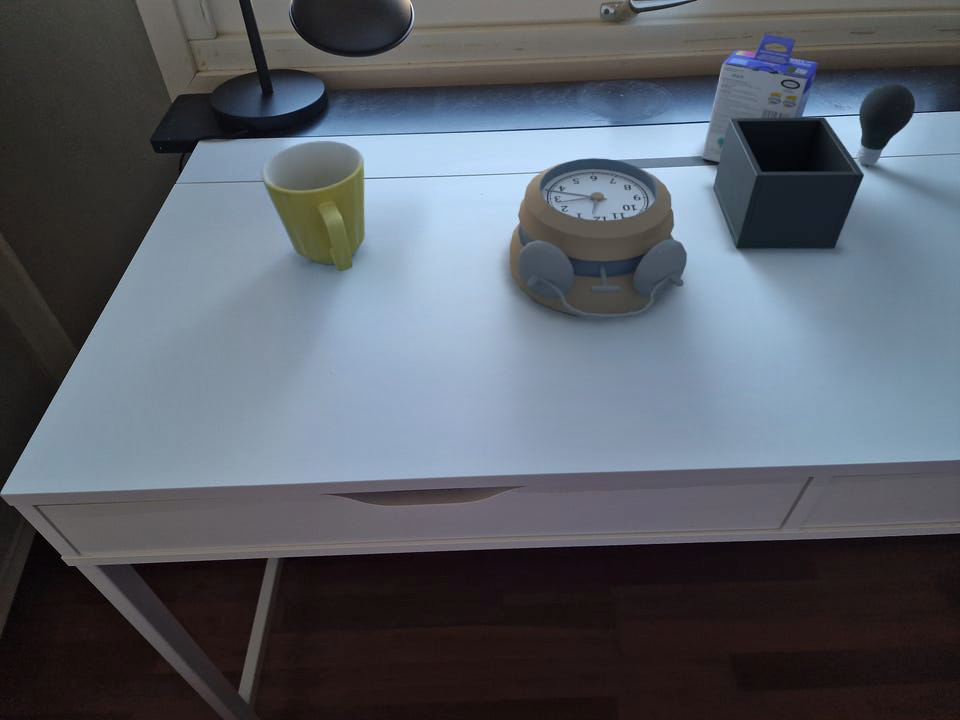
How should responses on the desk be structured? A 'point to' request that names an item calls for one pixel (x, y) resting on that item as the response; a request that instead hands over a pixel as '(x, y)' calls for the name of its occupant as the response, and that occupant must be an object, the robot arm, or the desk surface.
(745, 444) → the desk surface
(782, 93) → the ink cartridge box
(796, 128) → the trash bin
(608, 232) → the alarm clock
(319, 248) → the mug
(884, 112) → the light bulb
